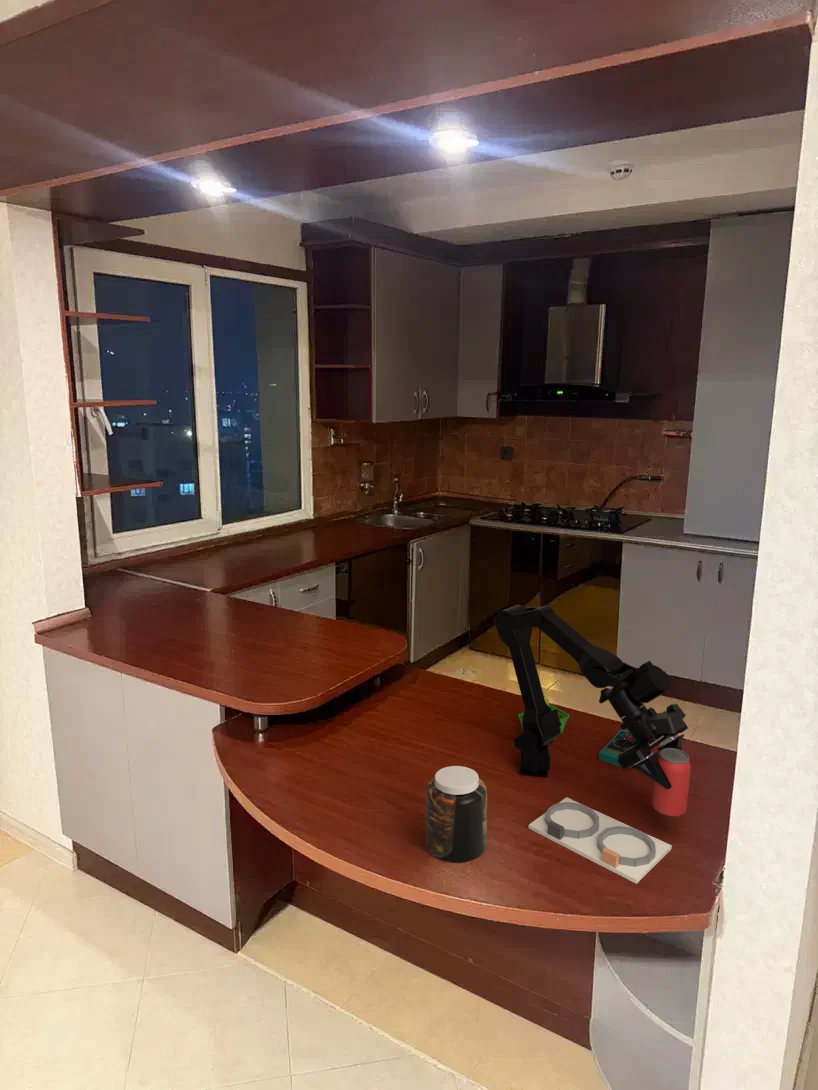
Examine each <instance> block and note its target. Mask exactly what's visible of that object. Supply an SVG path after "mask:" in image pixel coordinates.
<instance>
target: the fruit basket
mask: <svg viewBox="0 0 818 1090" xmlns="http://www.w3.org/2000/svg"><path fill="white" fill-rule="evenodd" d="M543 695H544V698H545V702H546V704H547V705H548V706H549V707H550V708H551V709H552V710H553V709H557V711H558V716H559V720H560V722H561V724H562V726H560V729H561V731H560V734H562V733H563V732H564V729H565V726H566V724H567V721H568V720H569V717H570V714H568V713H567V712H565V711H564V710H561V709H559V708H558V707H556V706H554V705H553V704H550V700H549V698H548V697H547V696H546V694H544V693H543ZM523 715H524V712H520V713H519V714H518V715H517V716H518V719H519V720H520V724H521V729H522V730H523V726H522V720H523Z"/></svg>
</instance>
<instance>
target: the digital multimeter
mask: <svg viewBox="0 0 818 1090" xmlns="http://www.w3.org/2000/svg"><path fill="white" fill-rule="evenodd" d="M633 742H635V741H634V739H633V738H632V736H631V735H630V733H629V731H628V730H627V729H624V730H622V729H620V730H618V732H617V733H616V734H615V736H614V737H612V739H611V740H610V741H609V742H608V743H607V745H605V746H604V747H603V748H602V749H600V751H598V752H599V753H598V759H599V761H602V762H604V763H608V764H611V765H614V766H617V767H620V768H621V766H620V765H619V763H618V755H619V754H621V753H622V752H624V751H626V750H627V749H629V748H631V747H633V746H632V743H633ZM629 768H630V766H629V767H628V768H627V769H629Z"/></svg>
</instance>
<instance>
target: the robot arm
mask: <svg viewBox="0 0 818 1090" xmlns="http://www.w3.org/2000/svg"><path fill="white" fill-rule="evenodd" d="M493 621H494V626H495V628H496V629H495V630H496V632H497V634H498V636H499V639H500V640H501V641H502V642H503V643H504V644H505V645H506V646H507V648H508V649H509V654H510V657H511V661H512V664H513V668H514V672H515V676H516V680H517V683H518V688H519V691H520V694H521V698H522V703H523V706H524V711H523V713H524V715H523V720H522V725H521V727H522V726H523V729H522V733H521V734H520V735H518V736H516V737H515V738H513V744H514V748H515V749H517V750H519V751H520V755H519V757H520V758H519V763H518V764H519V766H518V767H519V768H518V774H519V775H520V776H527V777H528V776H529V777H539V778H540V777H542V778H547V777H548V772H549V771H550V768H551V750H550V749H549V744H553V742H554V741H555V740H556V739H557V738H558V737H559V736H560V734H561V733H560V731H561V729H560V726H562V724H561V722H560V720H559V716H558V711H557V709H553V710H552V709H551V708H550V707H549V706H548V705H547V704H546V702H545V698H544V695H545V694H544V691H543V687H542V684H541V680H540V677H539V672H538V669H537V665H536V661H535V657H534V654H533V650H532V644H531V640H532V632H533V628H538V629H539V631H540V630H541V632H542V633H544V634H545V635H546V636H547V637H548V638H549V639H551V641H553V642H554V643H555V644H556V645H557V646H559V648H560V649H562V650H563V651H565V653H567V654H568V655H569V656H570V657H571V658H572V659H573V660H574V661H575V662H576V663H577V664H578V667H579V670H580V672H581V674H582V675H583V676H584V678H585V679H586V680H587V681H588V682H589V683H590V684H591V686H593V687H595V688H597V689H601V690H600V695H599V696H600V697H599V699H598V702H599V703H598V704H603V703H606V702H607V701H608V702H609V703H610V705H611V707H612V709H613V710H614V712H615V713H616V714H617V716H618V718H619V719H620V721H621V722H622V724H621V725H620V724H619V728H620V730H627V731H629V733H630V735H631V736H632V738H633V739H634V741H635V742H633V743H632V746H633V747H631V748H629V749H627V750H626V751H624V752H622V753H621V754H619V755H618V763H619V765H620V766H621V767H620V766H619V767H620V768H621V769H622V770H623V771H624V770H626V769H629V768H630V769H631V770H636V771H638V772H640V773H641V774H642V775H644V776H647V777H648V778H649V779H650V780H652V781H653V782H654V781H655V782H657V783H658V784H660V785H661V786H663V787H664V788H666V789H670V788H672V786H671V784H670V782H669V780H668V778H667V776H666V774H665V773H664V771H663V769H662V767H661V766H660V764H659V762H658V756H659V754H660V751H661V750H662V749H665V748H675V749H679V750H682V751H683V748H682V744H683V743H682V742H683V739H684V737H685V734H684V733H683V732H685V731H686V730H688V729H689V727H688V725H687V724H686V722H685V721H684V718H686V713H685V712H684V711H683V710H682V708H681V707H680V706H679V704H677V703H671V704H669V705H668V706H667V707H666V710H664V711H662V712H659V713H658V712H657V711H656V710H655V709H654V708H652V707H648V708H647V706H646V705H645V704H649V703H650V702H652V701H654V700H655V699H656V698H659V697H660V696H663V694H665V693H668V692H669V691H671V688H672V682H671V679H670V676H669V674H667V672H666V671H665V670H663V669H662V668H660V667H659V666H657V665H654V664H653V663H652V661H650V660H648V661H645V663H643V664H641V665H640V666H639V667H638V668H637V667H635V666H632V665H631V664H628V663H626V662H624V661H622V659H621V658H620V657H619V656H617V655H615V654H614V653H612V652H611V651H609V650H607V649H606V648H604V647H602V648H601V647H598V646H596V645H594V644H593V643H591V642H589V640H587V639H586V638H585V637H584V636H583V635H582V634H580V633H579V632H578V631H577V630H575V629H574V628H573V627H572V626H570V625H569V624H568V623H567V621H565V620H564V619H563V618H561V616H559V615H557V613H555V611H554V609H553V608H552V607H550V606H548V605H543V606H531V607H530V606H529V607H525V606H524V605H521V604H516V605H514V606H511V607H508V608H506V609H503V610H500V611H498V612H497V613H496V615H495V617H494V619H493ZM623 683H624V684H623ZM609 687H611V688H609ZM543 694H544V695H543ZM559 733H560V734H559ZM679 734H681V735H679ZM658 745H660V746H659V747H658V748H657V750H658V751H657V752H655V753H654V752H653V751H652V749H654V748H655V747H657V746H658ZM628 767H629V768H628Z"/></svg>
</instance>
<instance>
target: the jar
mask: <svg viewBox="0 0 818 1090" xmlns="http://www.w3.org/2000/svg"><path fill="white" fill-rule="evenodd" d="M434 774H435V775H434V777H433V778H432V779H430V781H429V782H428V783H427V786H426V791H425V848H426V850H427V851H428V852H429V854H430V855H431V856H432V857H434V858H435V859H438V860H440V861H443V862H446V863H447V862H449V863H456V864H457V863H460V864H461V863H466V862H471V861H473V860H476V859H478V858H479V857H480V856H482V855H483V854H484V852H485V851H486V847H487V833H488V830H487V829H488V791H487V785H486V784H485V782H484V781H483V780H482V779H481V778H479V774H478V773H477V772H476V771H475V770H474V769H472V768H469V767H467V766H462V765H452V766H445V767H443V768H441V769H439V770H437V772H436V773H434Z"/></svg>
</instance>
